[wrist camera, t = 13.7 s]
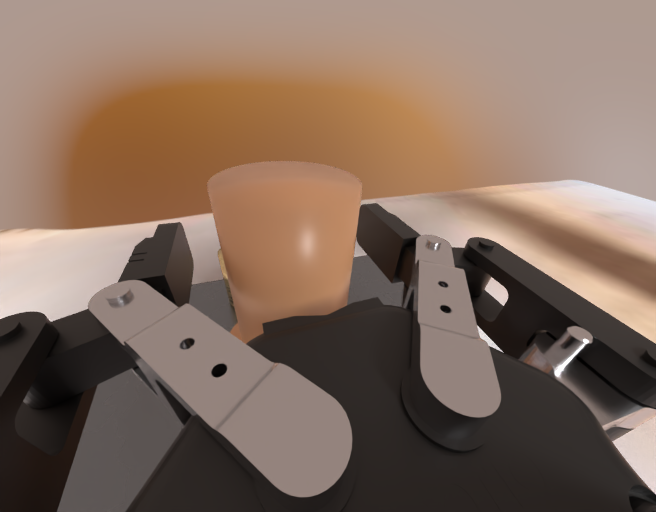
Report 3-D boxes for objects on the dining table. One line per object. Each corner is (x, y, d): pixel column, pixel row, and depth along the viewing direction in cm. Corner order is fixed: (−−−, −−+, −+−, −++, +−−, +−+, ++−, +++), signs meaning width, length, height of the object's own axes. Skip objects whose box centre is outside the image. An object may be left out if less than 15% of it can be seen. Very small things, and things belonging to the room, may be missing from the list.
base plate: (377, 266, 24) (387, 213, 21) (541, 461, 12) (624, 404, 9) (133, 311, 18) (97, 247, 15) (-48, 806, 6) (-457, 1021, 3)
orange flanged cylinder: (334, 297, 18) (347, 151, 12) (389, 402, 12) (459, 216, 7) (221, 322, 16) (175, 156, 10) (223, 465, 10) (117, 262, 4)
